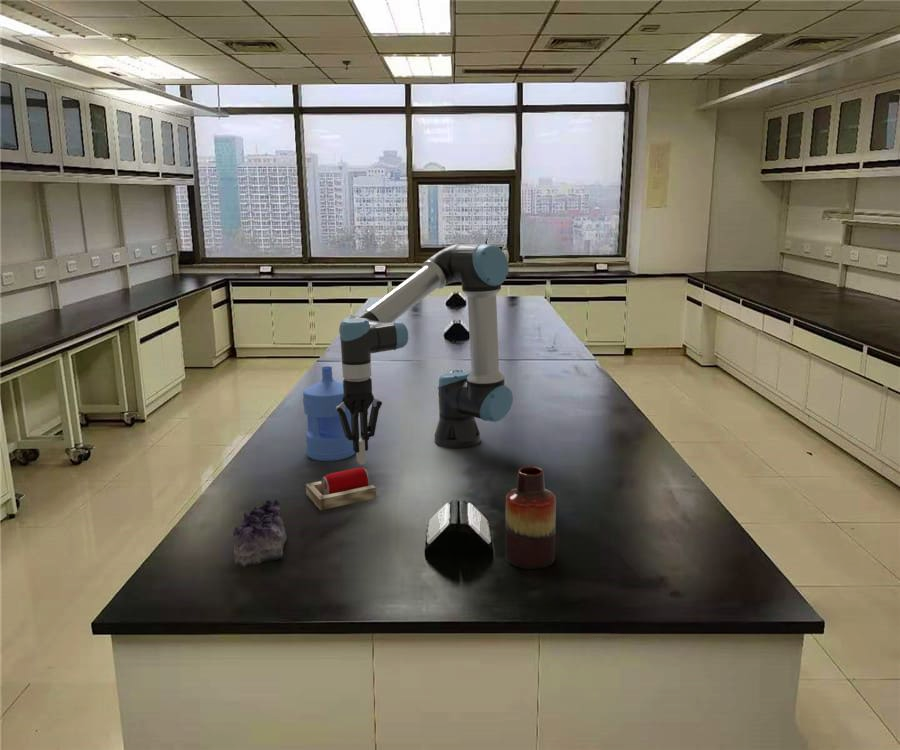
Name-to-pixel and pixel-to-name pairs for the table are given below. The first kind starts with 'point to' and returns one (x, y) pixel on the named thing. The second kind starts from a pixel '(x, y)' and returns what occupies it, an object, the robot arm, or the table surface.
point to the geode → (260, 535)
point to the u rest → (338, 495)
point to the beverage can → (345, 480)
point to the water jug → (326, 420)
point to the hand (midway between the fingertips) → (361, 462)
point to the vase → (530, 521)
